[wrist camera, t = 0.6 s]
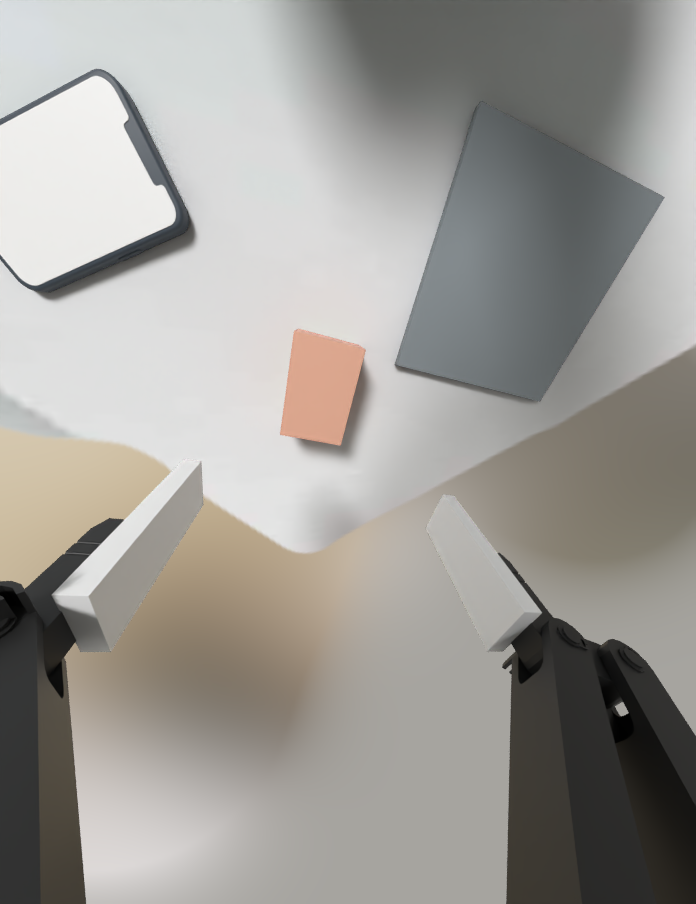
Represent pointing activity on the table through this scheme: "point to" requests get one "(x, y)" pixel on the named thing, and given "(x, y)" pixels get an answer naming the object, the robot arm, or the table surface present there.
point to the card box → (320, 387)
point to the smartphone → (81, 185)
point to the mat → (520, 258)
